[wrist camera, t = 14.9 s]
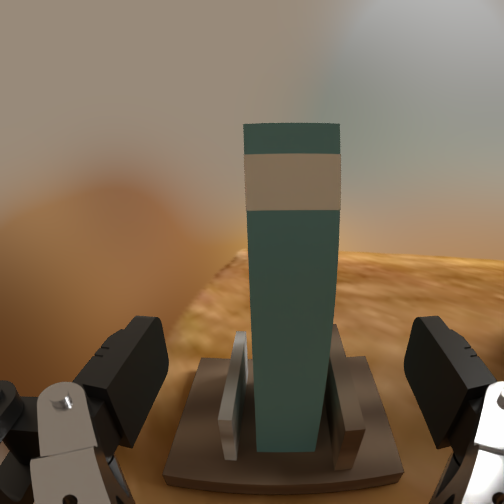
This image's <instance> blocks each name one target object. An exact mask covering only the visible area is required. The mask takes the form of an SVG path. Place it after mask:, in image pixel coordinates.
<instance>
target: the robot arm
mask: <svg viewBox="0 0 504 504" xmlns="http://www.w3.org/2000/svg"><path fill="white" fill-rule="evenodd" d="M168 366H169V359H168V353H167V348H166V343H165V338H164V333H163V328H162V323H161V320H160V319H159V318H158V317H147V316H135V317H134V318H133V319H132V320H131V322H130V323H129V324H128V325H127V327H126V328H125V329H124V330H123V329H121V330H119V331H117V332H116V333H114V334H113V335H111V336H110V337H108V338H107V340H106V341H105V342H104V343H103V344H102V346H101V348H99V349H98V351H97V352H96V353H95V356H93V357H92V358H91V359H90V360H89V362H88V363H87V364H86V365H85V366H84V368H83V369H82V370H81V372H80V373H79V374H78V375H77V377H76V378H75V379H74V380H73V382H61V383H56V384H53V385H51V386H49V387H48V388H46V389H45V390H44V391H43V392H42V393H41V394H40V396H39V397H21V396H19V394H18V392H17V390H16V388H15V386H14V385H13V384H12V383H11V382H8V381H3V380H2V381H0V443H1V442H2V441H3V442H4V444H5V445H6V446H7V448H8V449H9V450H10V451H9V453H8V454H7V456H6V458H5V459H4V461H3V462H2V464H1V465H0V504H33V503H34V501H35V504H135V501H134V499H133V497H132V495H131V492H130V490H129V488H128V485H127V483H126V480H125V478H124V475H123V473H122V470H121V467H120V465H119V462H118V459H117V457H116V455H115V453H114V452H115V450H116V448H117V446H118V445H120V446H124V447H128V448H133V446H134V443H135V441H136V439H137V437H138V435H139V433H140V431H141V428H142V426H143V424H144V422H145V420H146V418H147V416H148V413H149V411H150V409H151V407H152V405H153V403H154V401H155V399H156V396H157V394H158V392H159V390H160V388H161V386H162V384H163V382H164V380H165V378H166V375H167V372H168ZM404 371H405V375H406V378H407V380H408V382H409V384H410V387H411V389H412V391H413V393H414V396H415V398H416V400H417V402H418V405H419V407H420V409H421V412H422V414H423V416H424V419H425V421H426V423H427V426H428V428H429V431H430V433H431V436H432V438H433V441H434V443H435V446H436V448H437V449H441V448H445V447H448V446H451V447H452V449H453V452H452V453H451V455H450V457H449V459H448V461H447V464H446V466H445V469H444V471H443V474H442V476H441V478H440V481H439V483H438V485H437V487H436V490H435V492H434V494H433V496H432V498H431V500H430V502H429V504H504V381H501V382H497V380H496V379H495V378H494V376H493V375H492V373H491V372H490V371H489V369H488V368H487V367H486V365H485V364H484V363H483V361H482V360H481V359H480V358H479V356H478V357H477V354H476V352H475V351H474V350H473V349H471V346H470V345H469V344H468V342H467V341H466V340H465V339H464V337H462V336H461V335H459V334H458V333H456V332H455V331H453V330H452V329H451V330H450V329H449V328H448V327H447V326H446V324H445V323H444V322H443V321H442V319H441V318H440V317H439V316H428V317H417V318H416V319H415V320H414V322H413V325H412V330H411V334H410V338H409V342H408V346H407V350H406V354H405V358H404Z"/></svg>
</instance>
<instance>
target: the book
mask: <svg viewBox="0 0 504 504" xmlns="http://www.w3.org/2000/svg"><path fill="white" fill-rule="evenodd" d="M243 127H244V128H243V129H244V170H245V195H246V211H247V233H248V258H249V283H250V307H251V331H252V354H253V377H254V400H255V422H256V444H257V452H315V448H316V443H317V437H318V432H319V426H320V420H321V414H322V407H323V401H324V394H325V387H326V380H327V372H328V364H329V356H330V347H331V338H332V328H333V318H334V307H335V295H336V281H337V266H338V247H339V222H340V205H341V154H340V124H330V123H261V124H244V125H243Z"/></svg>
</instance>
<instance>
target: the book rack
mask: <svg viewBox="0 0 504 504" xmlns="http://www.w3.org/2000/svg"><path fill="white" fill-rule="evenodd" d="M403 473H404V470H403V467H402V463H401V460H400V457H399V453H398V450H397V447H396V444H395V441H394V437H393V434H392V431H391V428H390V425H389V422H388V419H387V416H386V413H385V410H384V407H383V404H382V401H381V399H380V396H379V393H378V390H377V387H376V384H375V382H374V379H373V376H372V373H371V371H370V368H369V365H368V362H367V360H366V357H365V356H359V357H346V355H345V352H344V348H343V345H342V342H341V338H340V335H339V332H338V328H337V325H336V324H333V328H332V338H331V347H330V356H329V364H328V372H327V380H326V387H325V394H324V401H323V407H322V414H321V420H320V426H319V432H318V437H317V443H316V448H315V452H257V444H256V422H255V400H254V377H253V359H247V341H246V332H242V331H236V336H235V341H234V345H233V350H232V355H231V359H219V358H201V360H200V363H199V366H198V369H197V372H196V375H195V378H194V381H193V384H192V387H191V390H190V393H189V396H188V399H187V402H186V405H185V408H184V411H183V414H182V417H181V420H180V423H179V426H178V429H177V432H176V435H175V438H174V441H173V444H172V447H171V450H170V453H169V456H168V459H167V462H166V465H165V468H164V471H163V474H162V475H163V477H164V479H165V481H166V483H167V485H172V486H178V487H184V488H191V489H199V490H207V491H216V492H228V493H243V494H311V493H325V492H337V491H346V490H354V489H362V488H369V487H375V486H381V485H387V484H392V483H397V482H398V481H399V480H400V478H401V476H402V475H403Z"/></svg>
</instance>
